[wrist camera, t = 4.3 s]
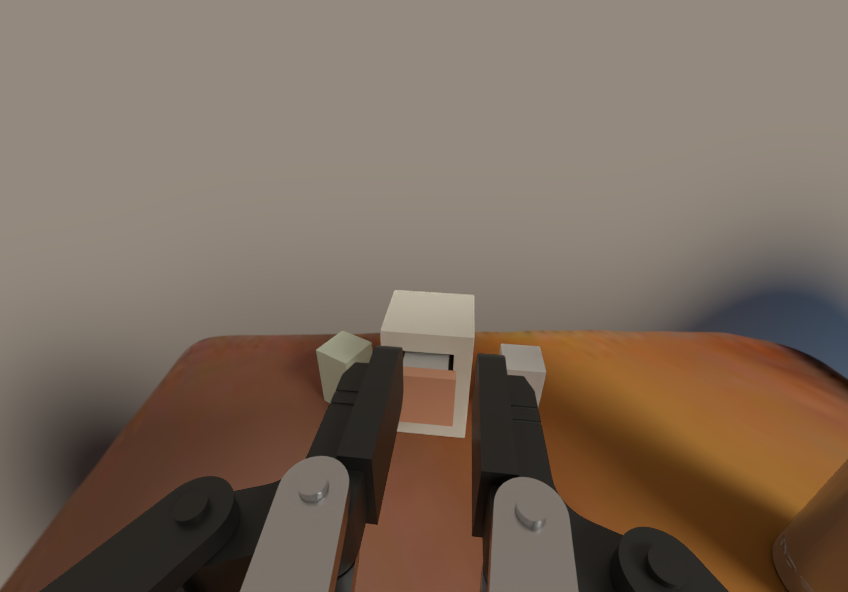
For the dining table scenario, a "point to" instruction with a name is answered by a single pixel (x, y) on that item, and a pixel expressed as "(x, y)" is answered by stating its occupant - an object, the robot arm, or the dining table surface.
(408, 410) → the button
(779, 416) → the dining table surface
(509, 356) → the grey block
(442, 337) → the cream box with panel
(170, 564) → the robot arm
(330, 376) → the sage block
